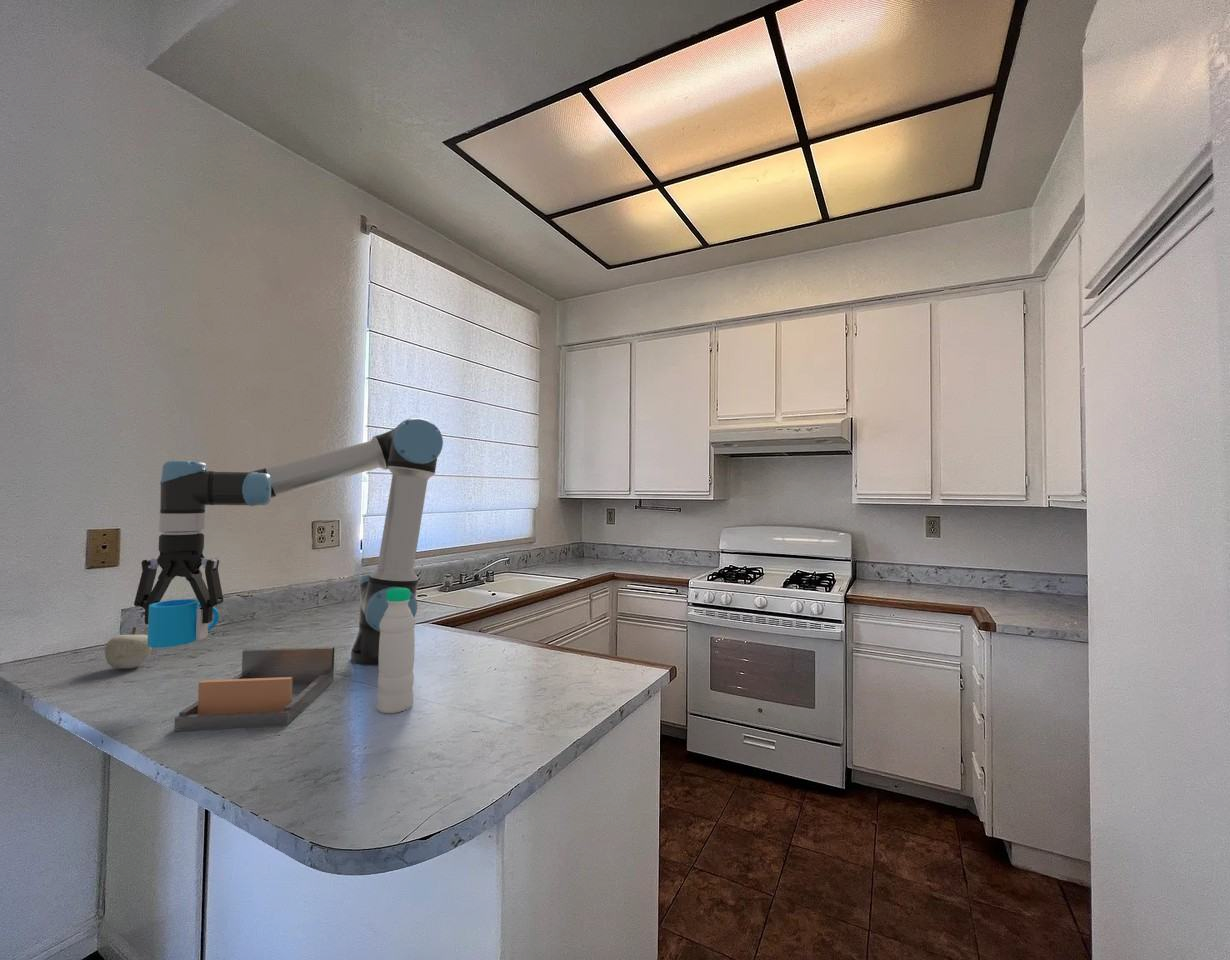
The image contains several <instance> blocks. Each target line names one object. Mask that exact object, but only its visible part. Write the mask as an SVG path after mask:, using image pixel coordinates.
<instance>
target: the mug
mask: <svg viewBox="0 0 1230 960" xmlns="http://www.w3.org/2000/svg"><path fill="white" fill-rule="evenodd" d="M200 607H201V605H200V603H199V601H198V599H193V598H188V599H187V598H183V599H172V600H171V599H169V600H163V601H160V602H157V603H153V604H150V605H149V616H148V624H147V635H148V642H147V646H148V647H152V648H154V649H156V648H161V649H162V648H171V647H179V646H183V645H188V644H191V643H194V642H196V641H197V640H196V623H197V609H200ZM219 613H220V612H219V611H218V609H217V608H216V606H214V607H213V618H212V621H211V622H210V624H208V632H209V631H211V630H212V629H213V628H214V627H216V625H217V624H218V622H219V619H220V614H219Z"/></svg>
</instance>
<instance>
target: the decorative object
mask: <svg viewBox="0 0 1230 960" xmlns="http://www.w3.org/2000/svg"><path fill="white" fill-rule="evenodd" d="M136 631H137V626H133V627H132V631H131V634H118V635H115V636H113V637H112V638H111V639H109V640H108V642H107V644H106V646H105V650H104V651H105V652H104V655H105V656H104V657H105V660H106V662H107V664H108V665H109V666H110V667H111V668H113V669H115V670H118V669H119V670H121V669H135V668H137V667H138V666H140V665H142V664H143V663H144V662H145V661H146V660H147V659H148V657H149V656H150V654H151V652H152V651H153V647H148V646H147V642H148V634H136Z"/></svg>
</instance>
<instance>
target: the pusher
mask: <svg viewBox="0 0 1230 960" xmlns="http://www.w3.org/2000/svg"><path fill="white" fill-rule="evenodd" d="M292 680H293V677H280V678H253V679H233V678H232V679H231V678H228V679H226V678H225V679H205V680H204V679H203V680H201V681H198V692H197V693H198V695H197V697H198V698H197V701H198V714H215V713H237V712H258V711H279V710H284V707H285V706H286V705H288V704H289V703H290V702H291V701H292V700H293V684H292Z"/></svg>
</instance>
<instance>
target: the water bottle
mask: <svg viewBox="0 0 1230 960" xmlns="http://www.w3.org/2000/svg"><path fill="white" fill-rule="evenodd" d="M386 599H387V602H388V608H387V610H386V611H385V613H384V616H383V618H382V619H381V621H380V625H379V628H380V639H379V665H378V678H377V691H378V692H377V699H376V709H377V710H378V711H379V712H380V713H382V714H387V713H389V714H390V713H392V714H398V713H397V712H399V713H402V712H401V711H403V712H405V711H407V710H409V709H411V707H412V706H413V704H414V690H413V689H414V687H413V686H414V681H415V677H414V676H415V675H414V672H413V671H414V664H415V648H416V646H415V645H416V644H415V643H416V642H415V641H416V637H415V627H416V619H415V618H414V617H413V615H412V614H411V610H410V608H409V607H408V602H409V601H410V600H409V599H410V590H409V589H408V588H392V589H389V590H388V591H387V593H386ZM408 708H409V709H408ZM406 709H407V710H406ZM404 710H405V711H404ZM389 714H388V715H389ZM390 715H391V714H390Z"/></svg>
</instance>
